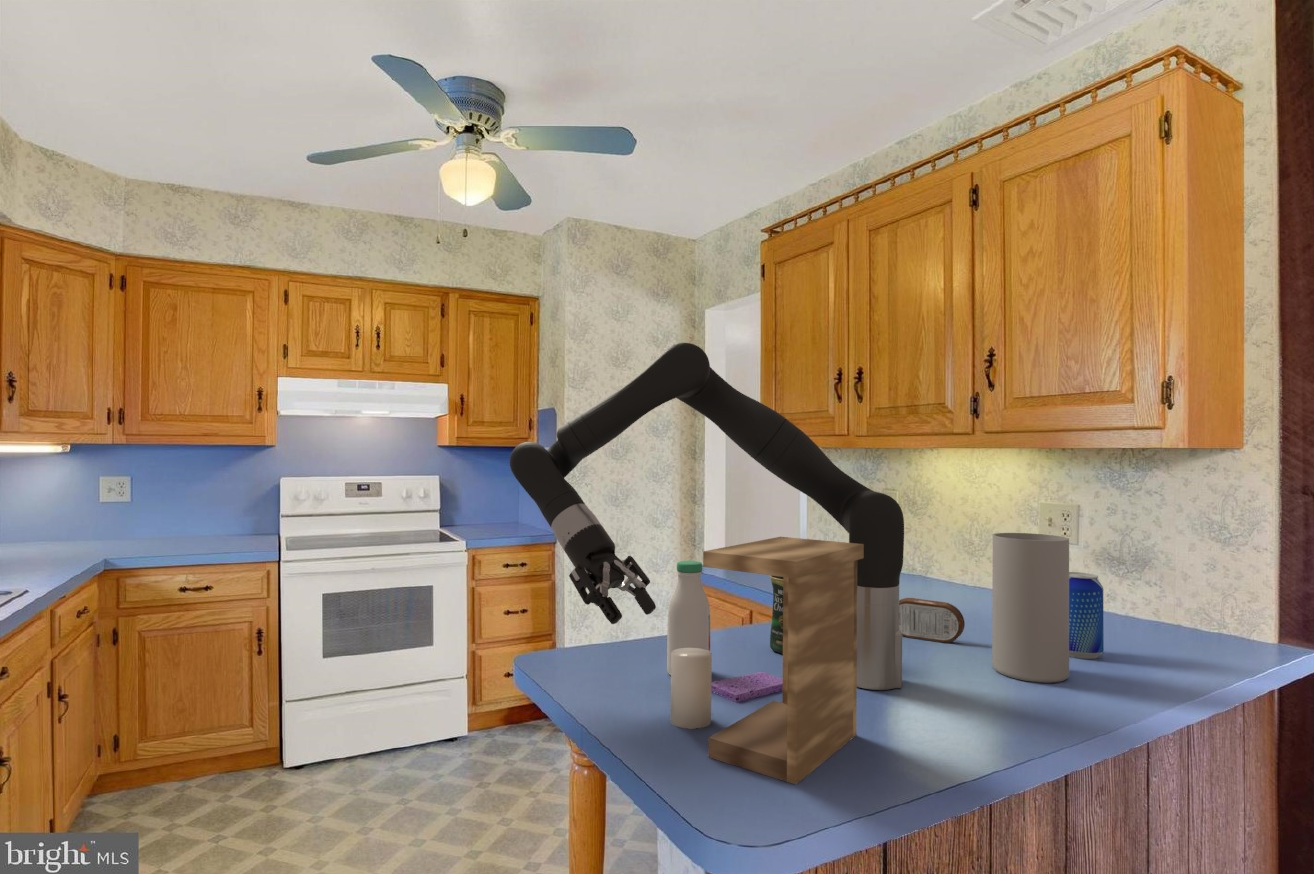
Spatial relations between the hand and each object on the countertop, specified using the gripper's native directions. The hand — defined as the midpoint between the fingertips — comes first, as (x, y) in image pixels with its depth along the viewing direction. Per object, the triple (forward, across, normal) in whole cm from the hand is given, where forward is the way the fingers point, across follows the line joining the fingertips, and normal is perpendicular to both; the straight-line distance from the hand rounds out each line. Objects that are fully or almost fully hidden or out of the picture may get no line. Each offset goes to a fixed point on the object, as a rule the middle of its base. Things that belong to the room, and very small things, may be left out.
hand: (635, 615), depth 113 cm
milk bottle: (+8, +18, +12) cm, 23 cm away
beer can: (+47, +79, -26) cm, 95 cm away
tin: (+27, +71, -7) cm, 76 cm away
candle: (+18, 0, +2) cm, 18 cm away
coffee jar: (+14, +43, +6) cm, 46 cm away
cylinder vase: (+43, +58, -23) cm, 76 cm away
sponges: (+18, +18, +3) cm, 25 cm away
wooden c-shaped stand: (+29, 0, -9) cm, 30 cm away
